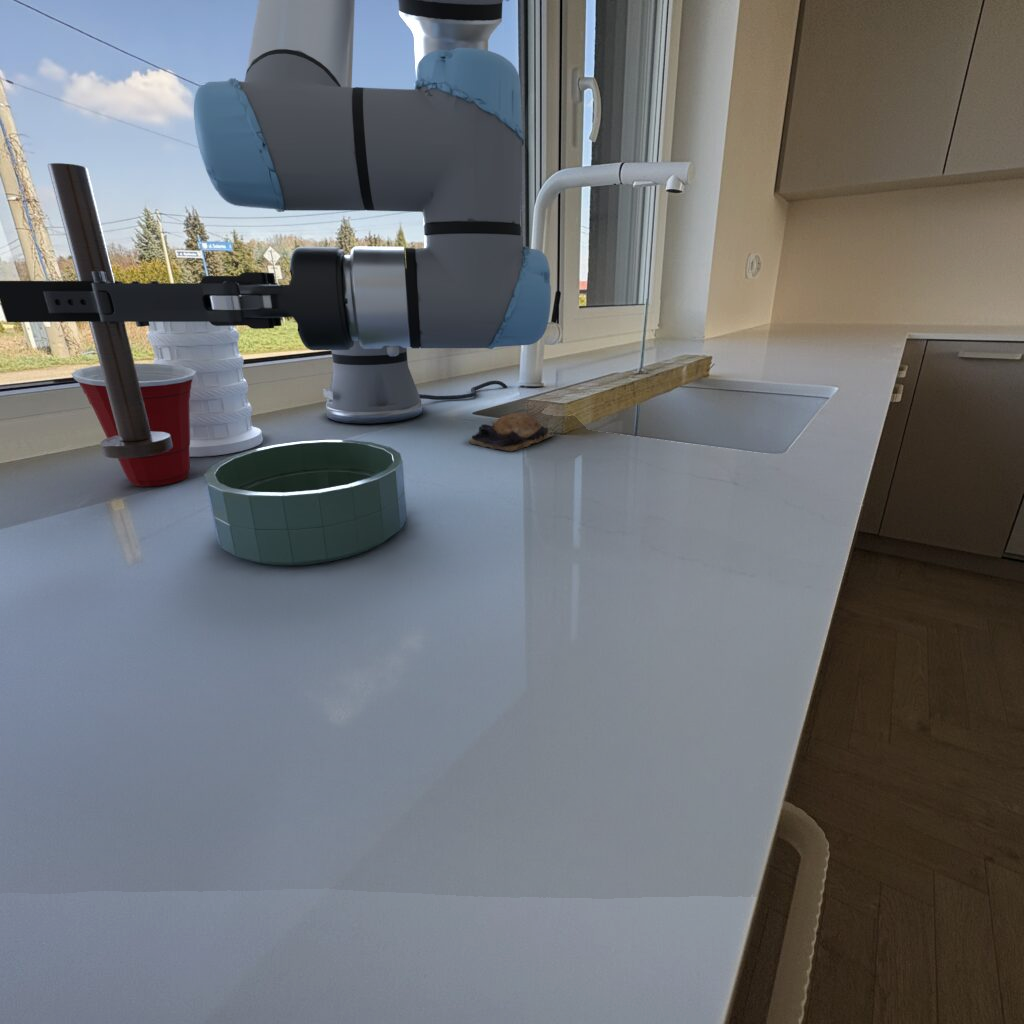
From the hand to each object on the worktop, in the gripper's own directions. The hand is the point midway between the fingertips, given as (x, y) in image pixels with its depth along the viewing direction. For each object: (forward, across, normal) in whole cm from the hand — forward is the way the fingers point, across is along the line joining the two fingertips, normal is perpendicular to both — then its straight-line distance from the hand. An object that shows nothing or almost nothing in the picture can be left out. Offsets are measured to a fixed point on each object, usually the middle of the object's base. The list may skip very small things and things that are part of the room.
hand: (18, 301), depth 41 cm
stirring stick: (-6, 0, -11) cm, 13 cm away
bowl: (-19, -1, -19) cm, 27 cm away
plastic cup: (0, +16, -19) cm, 25 cm away
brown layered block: (-41, +27, -19) cm, 52 cm away
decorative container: (-1, +30, -19) cm, 36 cm away
